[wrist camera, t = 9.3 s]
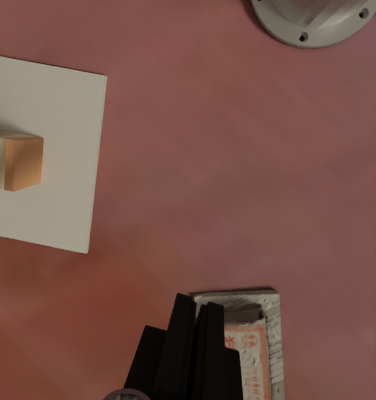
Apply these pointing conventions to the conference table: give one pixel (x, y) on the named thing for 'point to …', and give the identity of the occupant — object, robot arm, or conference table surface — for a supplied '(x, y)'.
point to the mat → (53, 151)
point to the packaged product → (253, 338)
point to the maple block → (20, 160)
